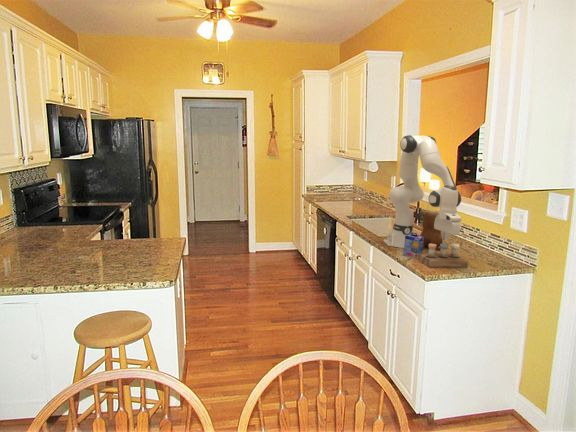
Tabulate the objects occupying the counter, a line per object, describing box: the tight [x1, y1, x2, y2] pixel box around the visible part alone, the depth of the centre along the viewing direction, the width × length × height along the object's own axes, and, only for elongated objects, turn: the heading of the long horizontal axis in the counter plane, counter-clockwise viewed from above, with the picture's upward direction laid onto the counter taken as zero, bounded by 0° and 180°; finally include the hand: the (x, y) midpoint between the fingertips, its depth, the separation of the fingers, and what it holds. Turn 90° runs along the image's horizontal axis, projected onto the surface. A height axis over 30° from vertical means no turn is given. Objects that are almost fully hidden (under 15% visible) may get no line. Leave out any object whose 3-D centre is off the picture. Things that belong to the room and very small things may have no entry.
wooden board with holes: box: [417, 253, 469, 269], centre depth 241 cm, size 14×22×4 cm, turn 101°
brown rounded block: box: [419, 209, 444, 249], centre depth 277 cm, size 14×13×25 cm
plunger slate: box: [439, 243, 449, 257], centre depth 240 cm, size 4×4×7 cm
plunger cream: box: [450, 243, 460, 257], centre depth 241 cm, size 4×4×7 cm
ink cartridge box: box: [403, 231, 424, 259], centre depth 255 cm, size 10×6×14 cm, turn 51°
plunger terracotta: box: [427, 243, 437, 257], centre depth 239 cm, size 4×4×7 cm
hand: (444, 240), depth 239 cm, fingers closed
